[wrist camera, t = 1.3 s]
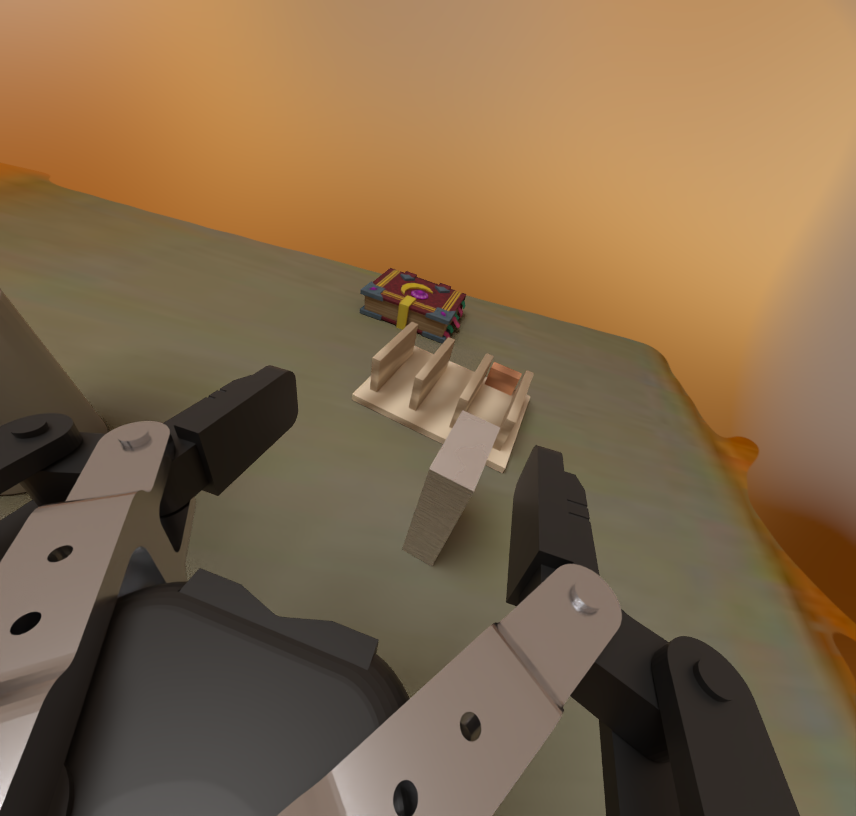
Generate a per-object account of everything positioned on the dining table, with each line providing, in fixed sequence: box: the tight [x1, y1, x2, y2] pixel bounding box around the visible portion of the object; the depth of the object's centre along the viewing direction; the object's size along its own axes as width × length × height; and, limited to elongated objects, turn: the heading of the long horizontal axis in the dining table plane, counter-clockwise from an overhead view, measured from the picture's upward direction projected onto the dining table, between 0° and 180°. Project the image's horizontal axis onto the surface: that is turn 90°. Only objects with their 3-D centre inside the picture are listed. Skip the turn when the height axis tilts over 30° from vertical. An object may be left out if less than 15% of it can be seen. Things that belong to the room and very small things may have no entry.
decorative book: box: [360, 268, 466, 343], centre depth 56 cm, size 11×16×5 cm
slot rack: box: [352, 322, 534, 473], centre depth 42 cm, size 20×14×6 cm
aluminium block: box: [402, 410, 500, 566], centre depth 26 cm, size 3×6×13 cm, turn 155°
